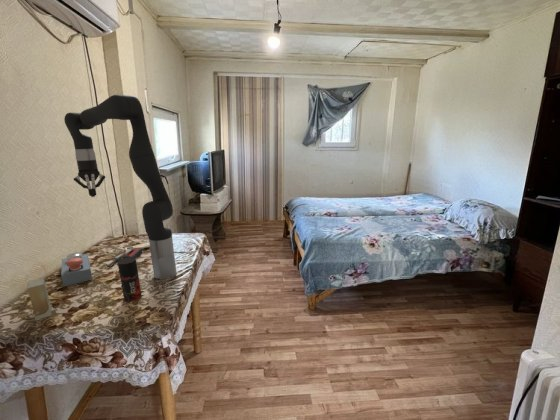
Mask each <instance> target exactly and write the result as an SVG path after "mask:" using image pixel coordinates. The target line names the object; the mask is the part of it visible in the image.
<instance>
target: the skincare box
mask: <svg viewBox="0 0 560 420" xmlns="http://www.w3.org/2000/svg"><path fill="white" fill-rule="evenodd" d="M27 291H28V295H29V299H30V303H31V307H32V310H33V314H34V318H35V321H38V320H42V319H45V318H48V317H51V316H52V306H51V301H50V298H49V297H50V296H49V293H48V288H47V285H46V281H45V277H40V278H36V279H32V280H28V281H27Z"/></svg>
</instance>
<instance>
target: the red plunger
mask: <svg viewBox="0 0 560 420" xmlns="http://www.w3.org/2000/svg"><path fill="white" fill-rule="evenodd" d="M82 263H83V261H82V258H74V259H70V260H68V261H67V262H66V264H67V266H68V267H70V268H71V271H75V270H79V269H81V265H80V264H82Z"/></svg>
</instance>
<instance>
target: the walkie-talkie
mask: <svg viewBox="0 0 560 420" xmlns="http://www.w3.org/2000/svg"><path fill="white" fill-rule="evenodd" d="M142 254H143V249H142V247H130V248H128V249H127V250H126V251H124V252H123V253H120V254H118V255H117V256H115V257H114V260H113V261H111V262H110V263H109V264H107V266H106V267H107V268H110V267H111V266H113V265H114V264H115V263H118V261H119V260H121V259H124V258H129V257H133V258H136V259H137V258H138V257H139V256H141V255H142Z"/></svg>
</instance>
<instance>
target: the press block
mask: <svg viewBox="0 0 560 420" xmlns="http://www.w3.org/2000/svg"><path fill="white" fill-rule="evenodd" d="M67 261H68V260H67V257H66V258H63V259H62V258H61V273H60V276H61V280H62V281H61V282H62V284H63V285H62V286H63V287H68V286H71V285H75V284H80V283H84V282H86V281H88V282H89V281H90V280H93V275H92V274H93V273H92V268H91V264H90V259H89V254H88V253H86V254H85V253H84V254H82V261H83V263H82V264H80V265H81V269H79V270H75V271H71V268H70V267H68V266H67V264H66V262H67Z"/></svg>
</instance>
